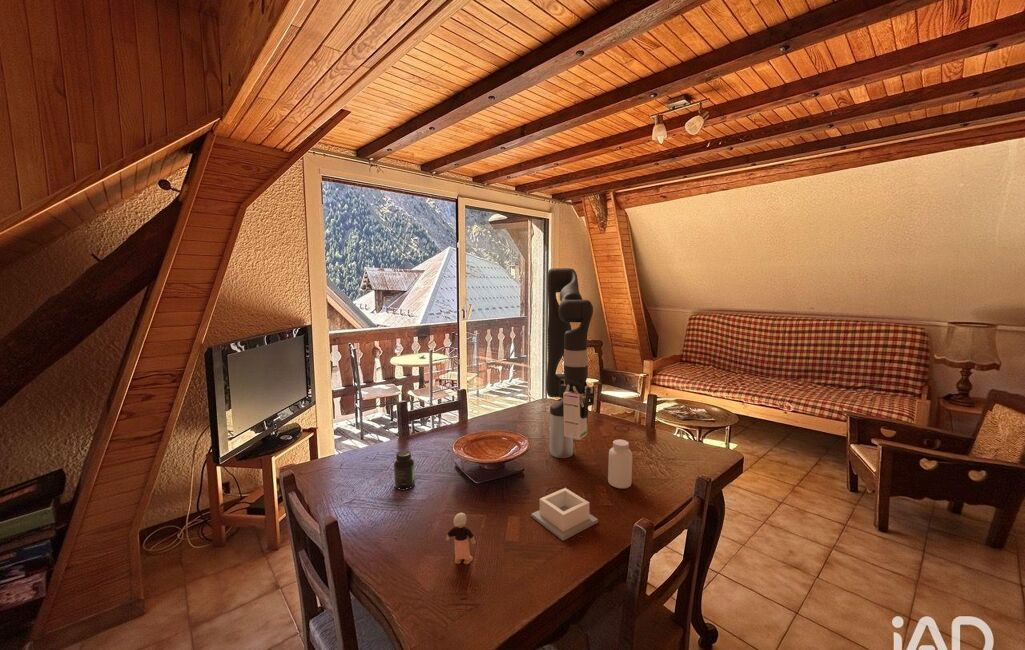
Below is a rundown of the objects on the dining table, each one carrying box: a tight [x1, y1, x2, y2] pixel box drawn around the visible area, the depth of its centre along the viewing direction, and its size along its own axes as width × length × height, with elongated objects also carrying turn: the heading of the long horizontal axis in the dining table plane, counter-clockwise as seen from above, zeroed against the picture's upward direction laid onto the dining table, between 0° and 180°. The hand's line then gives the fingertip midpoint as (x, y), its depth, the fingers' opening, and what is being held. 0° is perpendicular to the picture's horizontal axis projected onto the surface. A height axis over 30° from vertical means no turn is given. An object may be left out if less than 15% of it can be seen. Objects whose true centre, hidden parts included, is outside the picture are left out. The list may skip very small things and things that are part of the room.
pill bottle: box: [607, 439, 633, 489], centre depth 140 cm, size 8×8×15 cm
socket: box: [530, 487, 599, 542], centre depth 120 cm, size 14×14×6 cm
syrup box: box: [563, 391, 589, 441], centre depth 128 cm, size 6×6×14 cm
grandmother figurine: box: [445, 512, 477, 565], centre depth 103 cm, size 8×4×13 cm, turn 92°
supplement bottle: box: [393, 449, 416, 489], centre depth 140 cm, size 7×7×12 cm
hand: (575, 414), depth 128 cm, fingers closed on syrup box, 6 cm apart
